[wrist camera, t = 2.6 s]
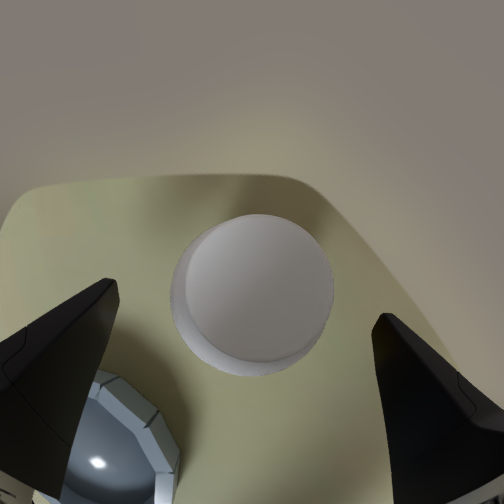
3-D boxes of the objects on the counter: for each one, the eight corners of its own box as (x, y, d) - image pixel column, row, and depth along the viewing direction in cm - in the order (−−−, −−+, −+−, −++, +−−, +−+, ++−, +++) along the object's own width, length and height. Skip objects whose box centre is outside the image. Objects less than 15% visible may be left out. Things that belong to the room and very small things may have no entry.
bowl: (208, 499, 14) (207, 523, 11) (75, 511, 11) (61, 528, 8) (132, 344, 16) (115, 348, 13) (8, 380, 14) (-16, 384, 11)
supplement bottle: (299, 327, 17) (391, 328, 7) (217, 368, 16) (213, 428, 6) (259, 247, 18) (302, 161, 8) (177, 285, 17) (123, 235, 7)
